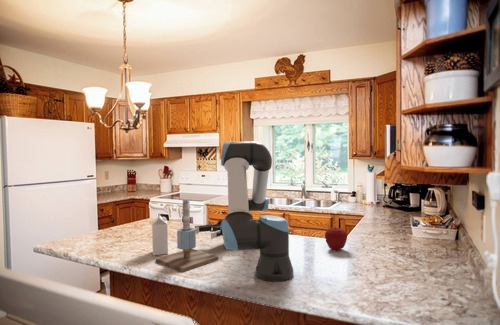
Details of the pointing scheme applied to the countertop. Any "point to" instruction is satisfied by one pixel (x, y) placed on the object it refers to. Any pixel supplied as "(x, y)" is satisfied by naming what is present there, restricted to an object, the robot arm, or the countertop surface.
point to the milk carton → (160, 236)
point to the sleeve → (186, 239)
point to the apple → (336, 238)
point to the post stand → (189, 256)
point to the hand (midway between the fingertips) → (200, 234)
